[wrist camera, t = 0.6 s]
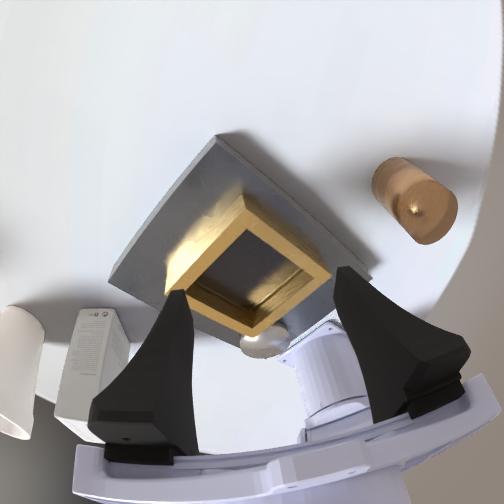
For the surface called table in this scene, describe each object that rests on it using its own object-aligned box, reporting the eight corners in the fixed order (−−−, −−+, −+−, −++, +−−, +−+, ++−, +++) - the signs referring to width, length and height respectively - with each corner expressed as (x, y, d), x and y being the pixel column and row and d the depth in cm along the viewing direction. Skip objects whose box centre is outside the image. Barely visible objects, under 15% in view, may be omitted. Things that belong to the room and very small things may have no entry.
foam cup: (-11, 321, 26) (-44, 404, 16) (-3, 282, 23) (-52, 380, 12) (46, 357, 31) (25, 444, 20) (65, 326, 28) (36, 432, 17)
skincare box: (78, 307, 26) (47, 414, 16) (117, 306, 27) (94, 421, 17) (98, 344, 30) (81, 441, 20) (134, 344, 30) (123, 447, 20)
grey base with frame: (364, 264, 27) (381, 293, 24) (263, 344, 32) (268, 374, 29) (215, 134, 19) (216, 151, 16) (113, 266, 24) (101, 299, 21)
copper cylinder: (421, 181, 23) (463, 216, 18) (388, 214, 24) (424, 254, 19) (399, 146, 21) (445, 176, 16) (362, 182, 22) (400, 220, 17)
